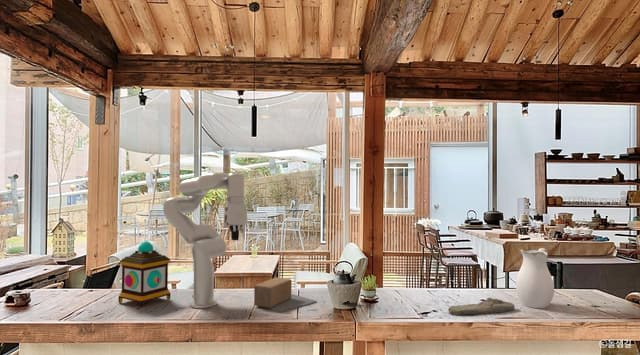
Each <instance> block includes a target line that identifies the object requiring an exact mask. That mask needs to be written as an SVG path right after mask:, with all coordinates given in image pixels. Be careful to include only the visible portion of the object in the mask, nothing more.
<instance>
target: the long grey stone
mask: <svg viewBox="0 0 640 355" xmlns="http://www.w3.org/2000/svg"><path fill="white" fill-rule="evenodd" d="M515 307H516V306H515V304H514V303H512V302H510V301H509V302H508V301H504V300H502V299H498V298H492V297H487V298H486V299H485V300H484V301H480V302H478V303H471V304H468V303H467V304H461V305H451V306H449V307H448V314H449V315H450V316H451V315H452V316H467V315H468V316H471V315H472V316H475V315H487V314H493V313H494V314H498V313H497V312H499V313H507V312H506V311H508V312H509V311H513V310H515Z"/></svg>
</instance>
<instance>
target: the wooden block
mask: <svg viewBox="0 0 640 355" xmlns="http://www.w3.org/2000/svg"><path fill="white" fill-rule="evenodd" d="M253 287H254V289H253V292H254V293H253V294H254V296H253V300H254V302H253V304H254V306H257V307H260V308H261V307H262V308H266V307H267V308H266V309H269V308H272V307H274V306H276V305H278V304H280V303H282V302H284V301H286V300H288V299H290V298H291V295H292V279H291V278H286V277H285V278H283V277H274V278H271V279H268V280H265V281H263V282H260V283H258V284H255V285H254V286H253Z"/></svg>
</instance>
